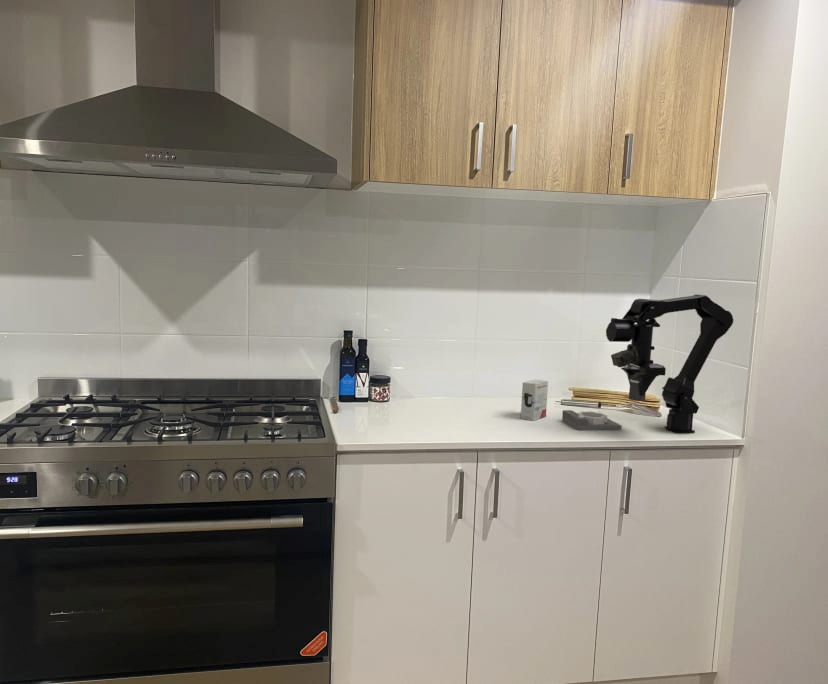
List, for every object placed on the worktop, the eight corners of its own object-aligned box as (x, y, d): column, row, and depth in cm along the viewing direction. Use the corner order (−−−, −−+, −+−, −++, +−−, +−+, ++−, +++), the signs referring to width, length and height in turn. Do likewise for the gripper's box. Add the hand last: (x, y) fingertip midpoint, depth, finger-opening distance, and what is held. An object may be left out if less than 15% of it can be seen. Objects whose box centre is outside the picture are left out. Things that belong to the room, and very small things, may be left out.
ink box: (533, 414, 218) (535, 378, 217) (546, 416, 215) (549, 380, 214) (519, 418, 212) (522, 381, 210) (533, 421, 209) (535, 384, 207)
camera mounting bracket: (603, 419, 214) (604, 408, 213) (621, 429, 202) (622, 417, 202) (562, 420, 211) (562, 408, 211) (578, 430, 199) (578, 417, 199)
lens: (640, 397, 201) (642, 374, 200) (648, 400, 197) (650, 376, 196) (625, 397, 200) (627, 374, 199) (633, 400, 196) (635, 376, 195)
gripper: (601, 337, 204) (597, 387, 206) (632, 346, 186) (627, 401, 188) (635, 338, 206) (631, 387, 208) (668, 346, 188) (664, 400, 190)
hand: (637, 394), depth 198 cm, fingers closed on lens, 5 cm apart
